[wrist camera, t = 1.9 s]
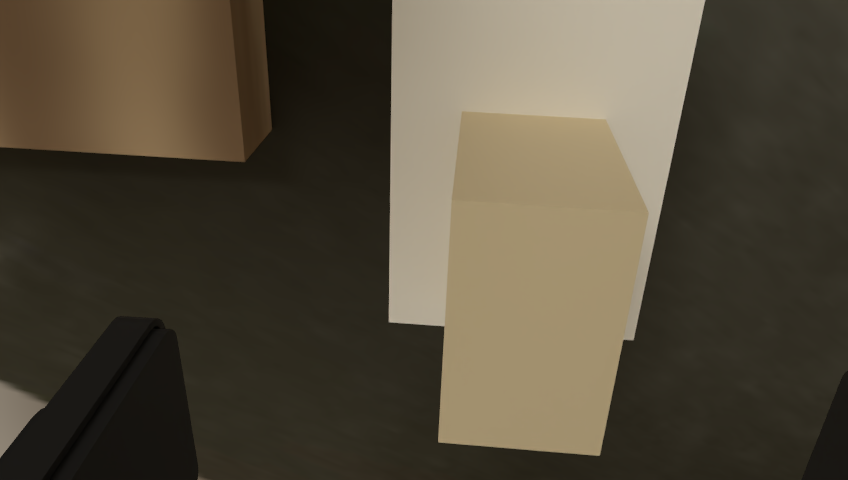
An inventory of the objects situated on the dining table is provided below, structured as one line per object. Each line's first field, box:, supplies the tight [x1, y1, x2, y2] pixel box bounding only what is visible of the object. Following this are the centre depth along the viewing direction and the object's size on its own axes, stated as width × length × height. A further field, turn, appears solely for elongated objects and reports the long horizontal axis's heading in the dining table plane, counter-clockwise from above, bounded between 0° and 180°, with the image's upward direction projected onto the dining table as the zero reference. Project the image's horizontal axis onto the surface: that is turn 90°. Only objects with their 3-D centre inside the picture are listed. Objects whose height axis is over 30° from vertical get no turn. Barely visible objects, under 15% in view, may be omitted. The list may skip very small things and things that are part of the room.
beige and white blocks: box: [389, 0, 705, 456], centre depth 17 cm, size 6×10×12 cm, turn 178°
